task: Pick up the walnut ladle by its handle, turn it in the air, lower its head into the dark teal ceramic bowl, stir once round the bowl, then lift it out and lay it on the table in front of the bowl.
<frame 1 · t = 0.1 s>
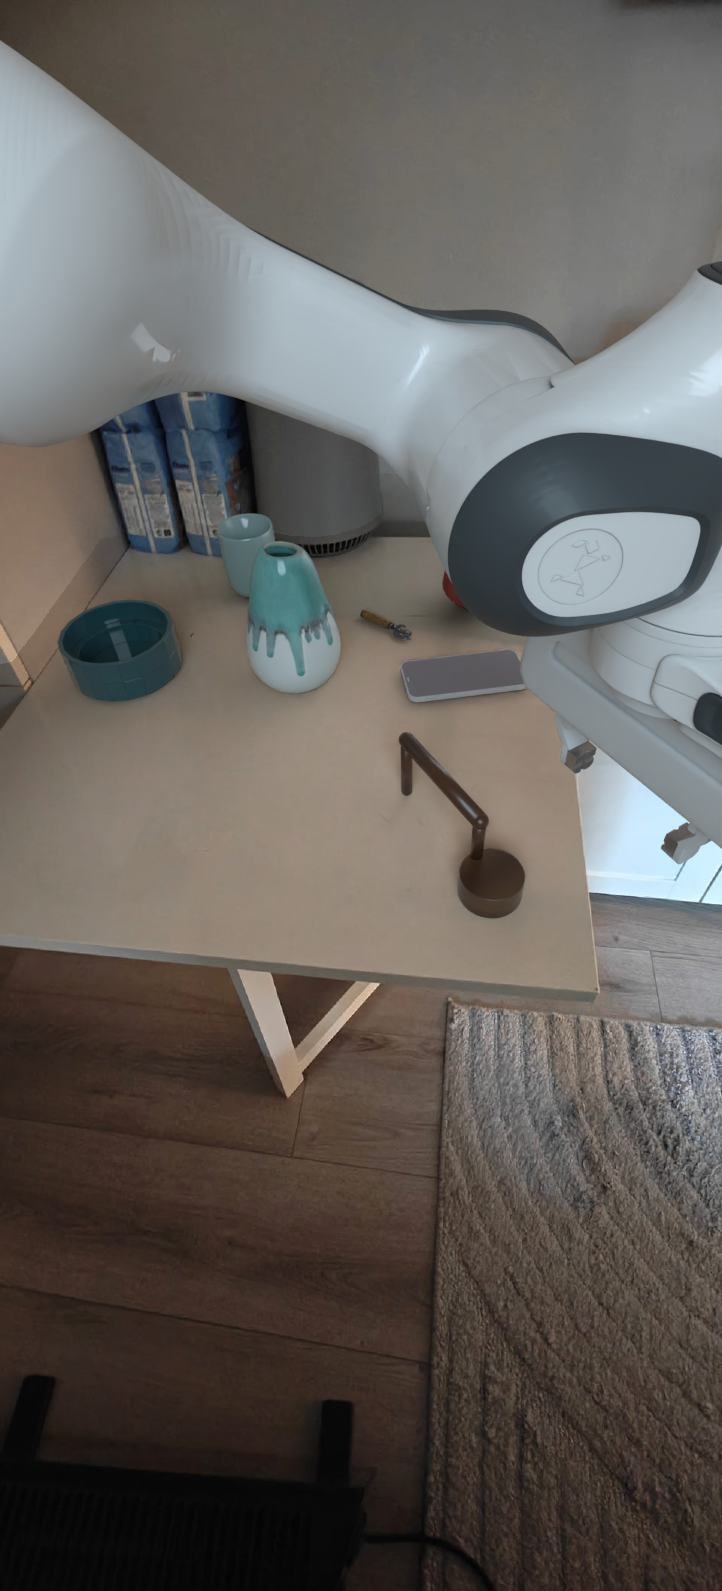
hand: (623, 806, 49), 21 cm above the table, tool pointing down, fingers open, 8 cm apart
bowl: (129, 669, 96), on the table
smartphone: (463, 679, 91), on the table
ladle: (489, 892, 70), on the table
cup: (256, 591, 108), on the table
can opener: (385, 629, 100), on the table
vase: (298, 677, 94), on the table
fruit: (470, 607, 102), on the table
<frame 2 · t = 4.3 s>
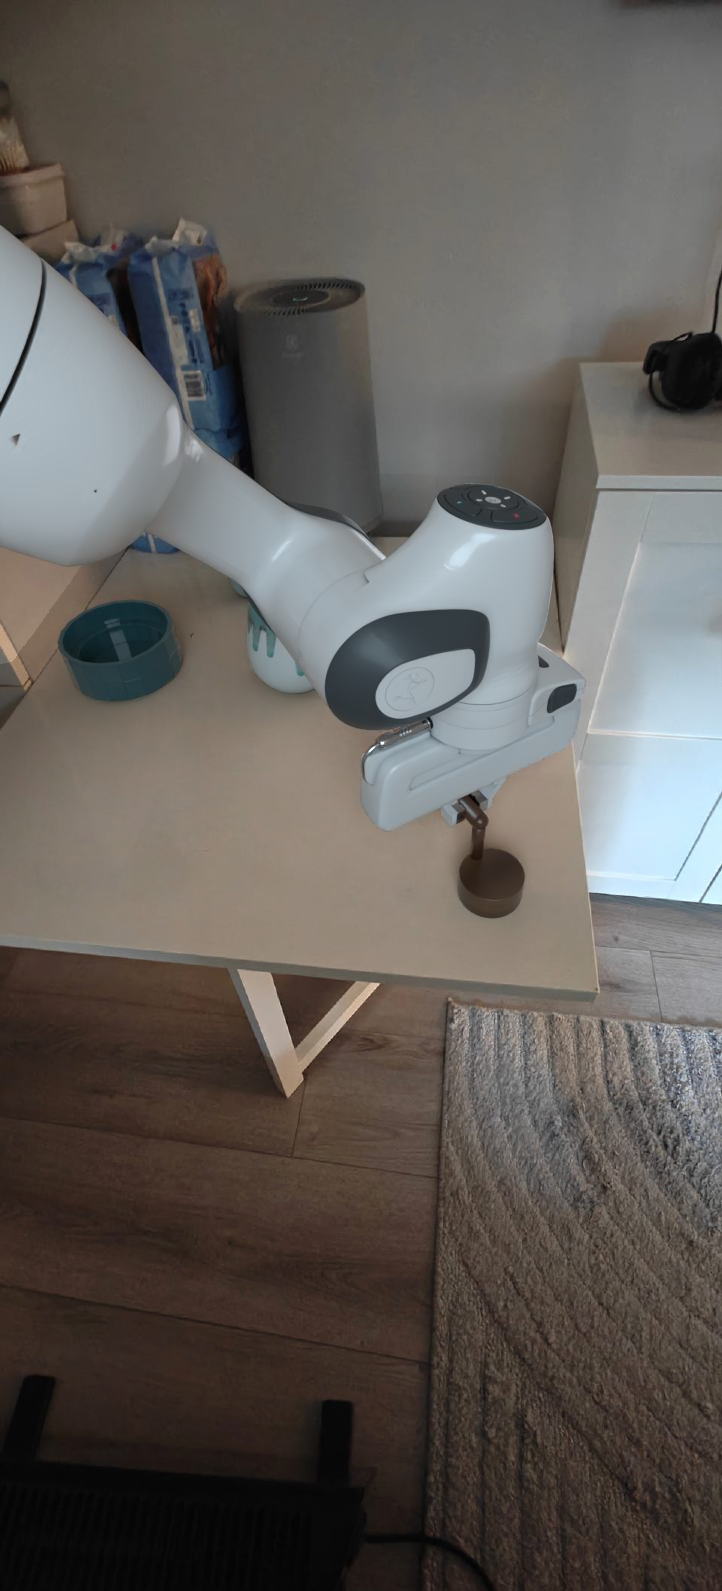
hand: (466, 813, 67), 7 cm above the table, tool pointing down, fingers closed on ladle
ladle: (489, 892, 70), on the table, touching gripper
everything else where it was.
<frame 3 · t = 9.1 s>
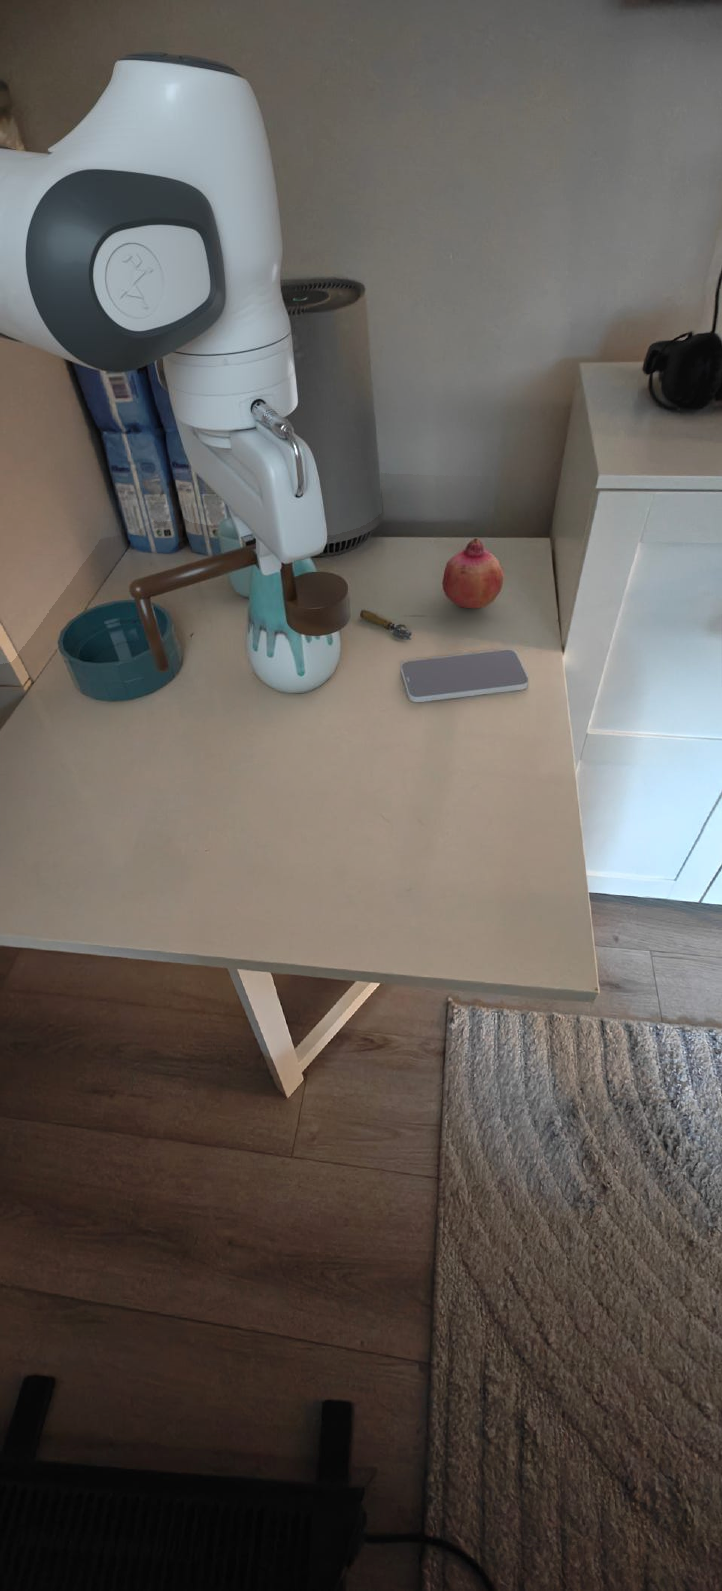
hand: (261, 562, 61), 27 cm above the table, tool pointing down, fingers closed on ladle
ladle: (318, 617, 68), point 20 cm above the table, touching gripper
everything else where it was.
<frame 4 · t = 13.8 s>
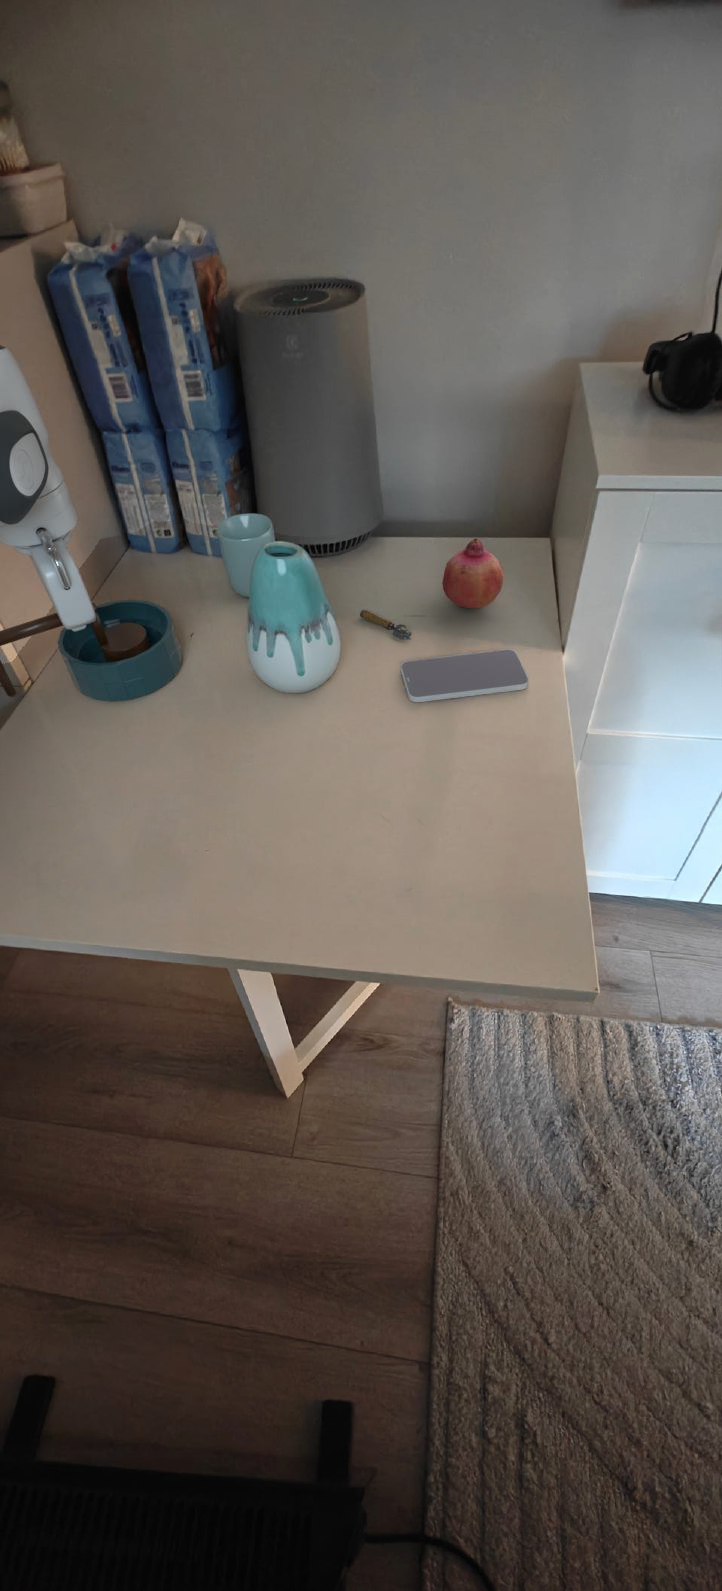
hand: (75, 621, 89), 9 cm above the table, tool pointing down, fingers closed on ladle
ladle: (129, 655, 95), point 2 cm above the table, touching gripper
everything else where it was.
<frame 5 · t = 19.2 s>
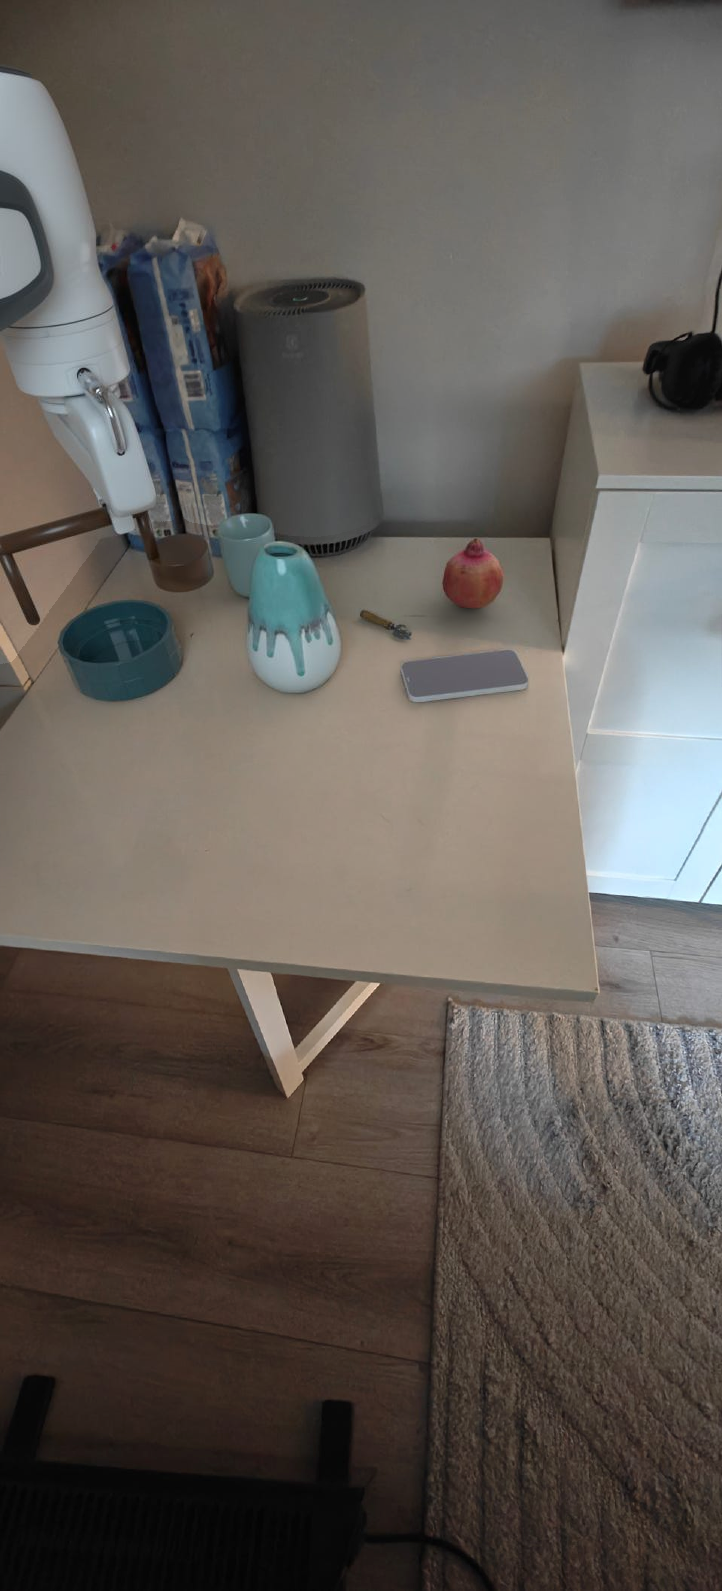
hand: (119, 523, 67), 27 cm above the table, tool pointing down, fingers closed on ladle
ladle: (184, 576, 74), point 20 cm above the table, touching gripper
everything else where it was.
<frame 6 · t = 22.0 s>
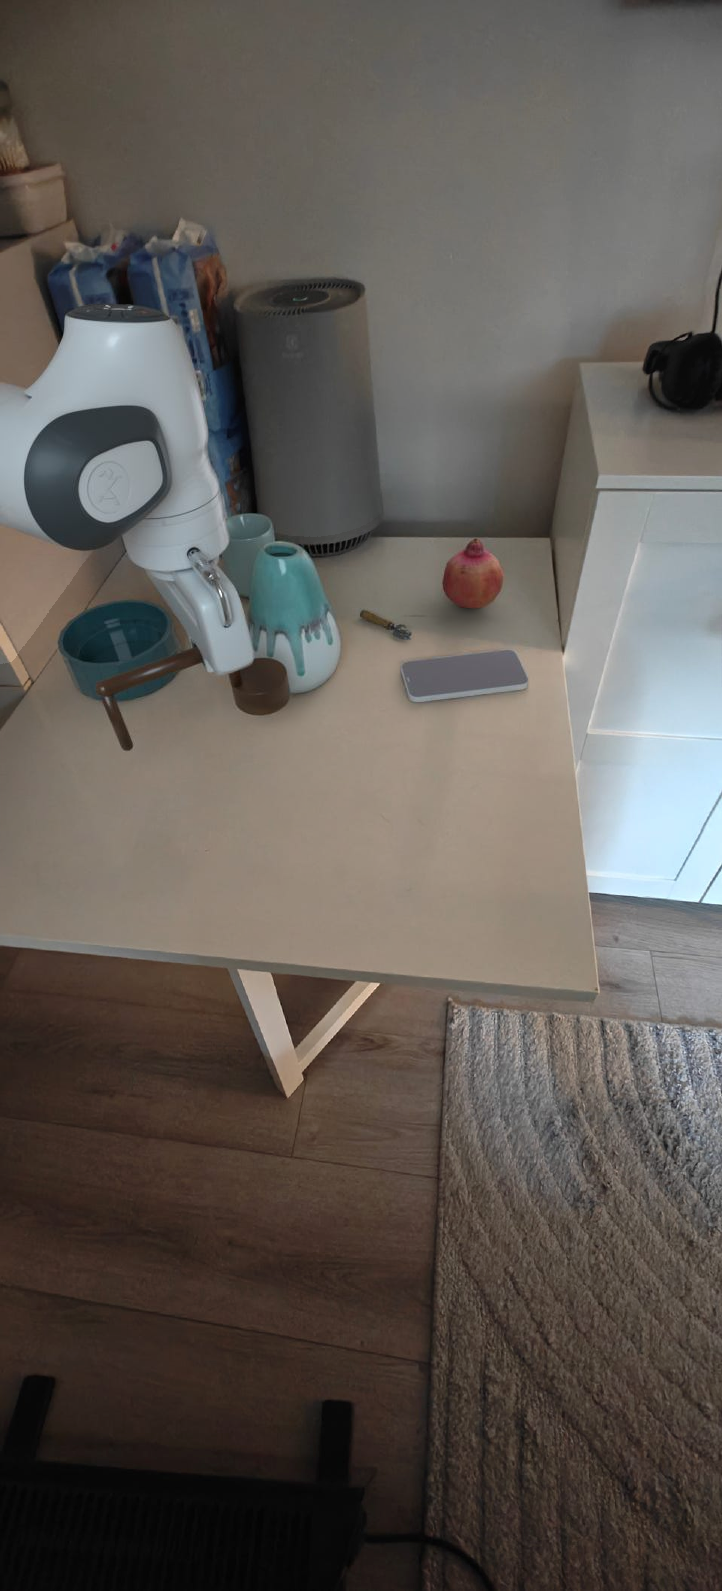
hand: (208, 659, 72), 15 cm above the table, tool pointing down, fingers closed on ladle
ladle: (262, 697, 79), point 8 cm above the table, touching gripper
everything else where it was.
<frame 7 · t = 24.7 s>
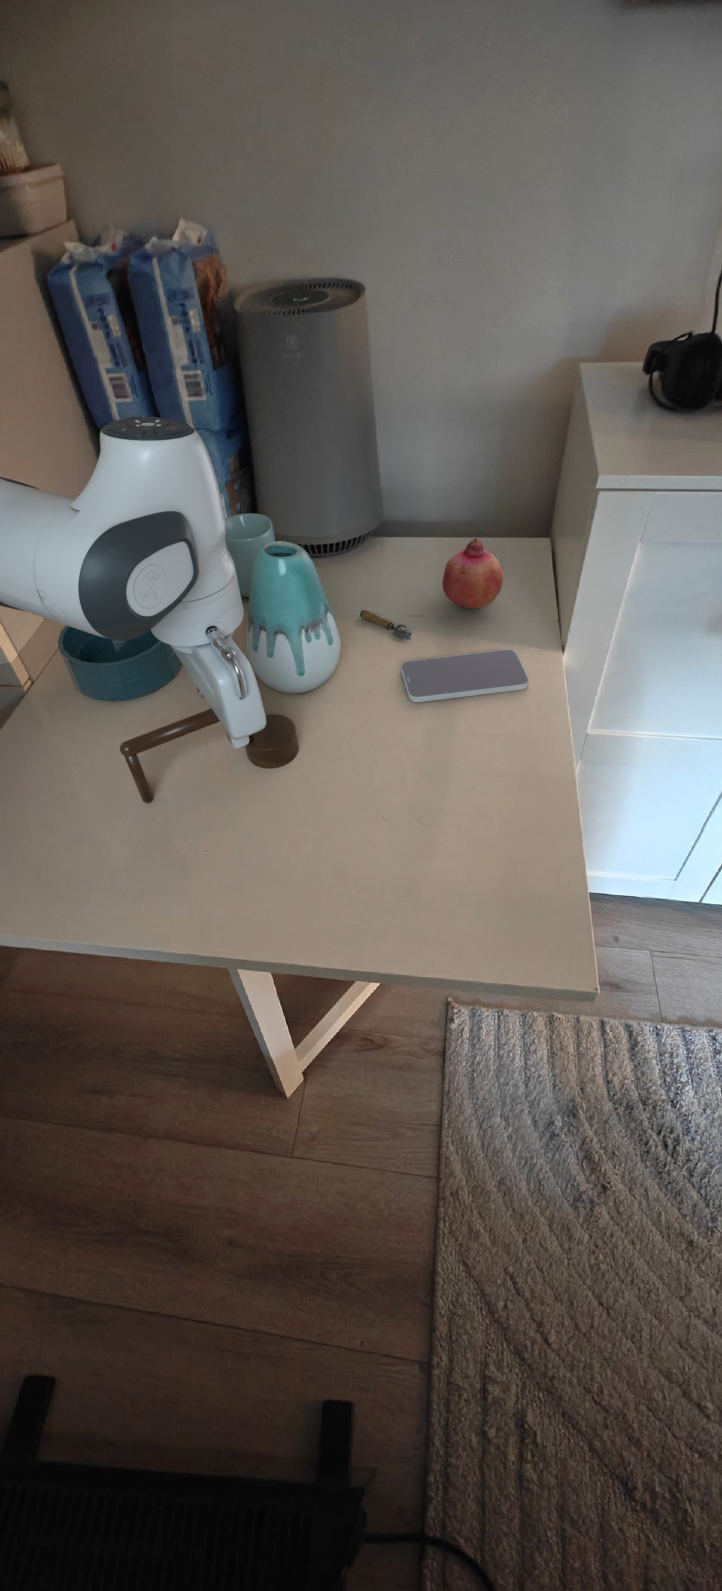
hand: (222, 716, 77), 7 cm above the table, tool pointing down, fingers open, 8 cm apart
ladle: (272, 750, 84), on the table
everything else where it was.
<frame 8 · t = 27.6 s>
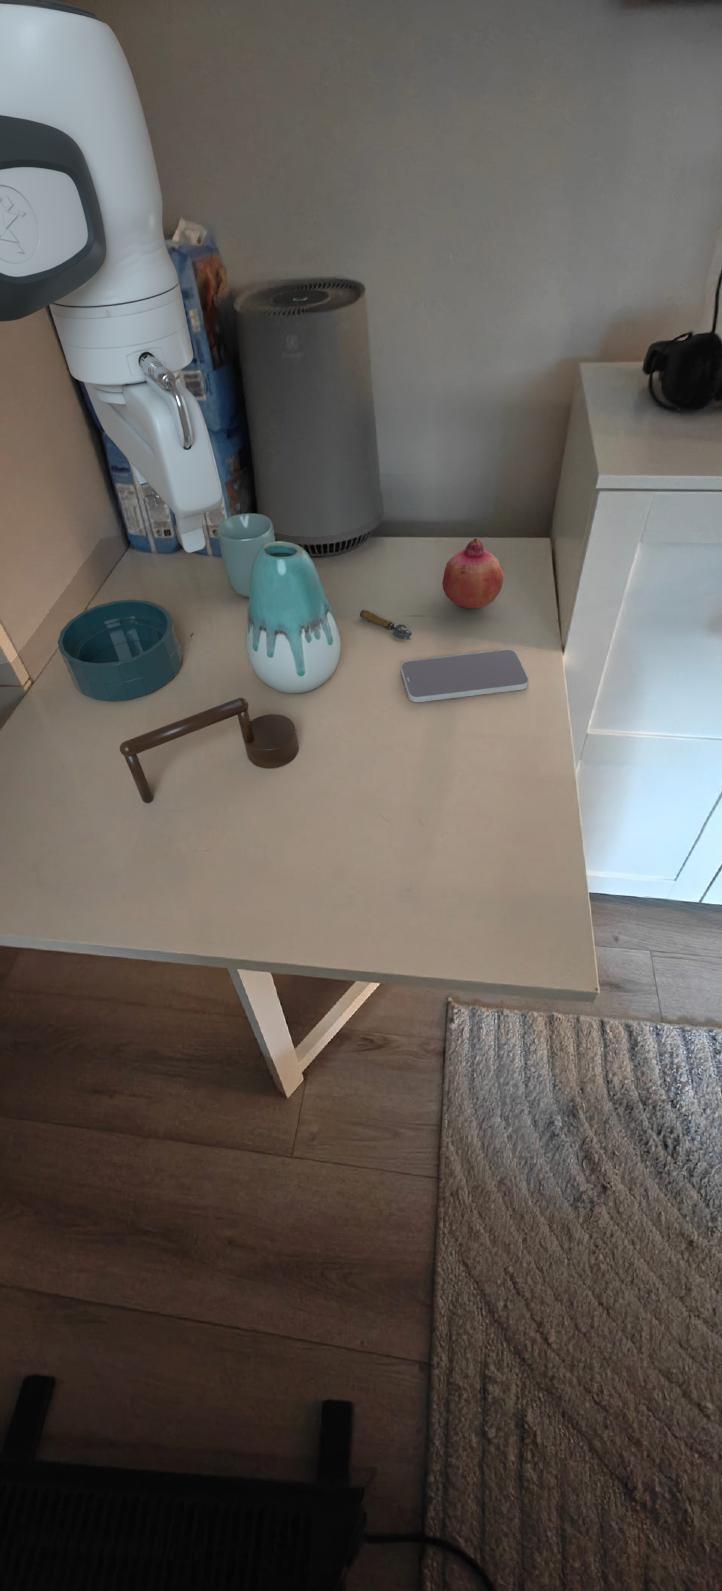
hand: (173, 523, 62), 29 cm above the table, tool pointing down, fingers open, 8 cm apart
nothing on the table moved.
at the end: ladle inside the target area on the table beside the bowl (0.2 cm from its centre), on the table; the gripper is holding nothing; ladle tilted 0° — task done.
